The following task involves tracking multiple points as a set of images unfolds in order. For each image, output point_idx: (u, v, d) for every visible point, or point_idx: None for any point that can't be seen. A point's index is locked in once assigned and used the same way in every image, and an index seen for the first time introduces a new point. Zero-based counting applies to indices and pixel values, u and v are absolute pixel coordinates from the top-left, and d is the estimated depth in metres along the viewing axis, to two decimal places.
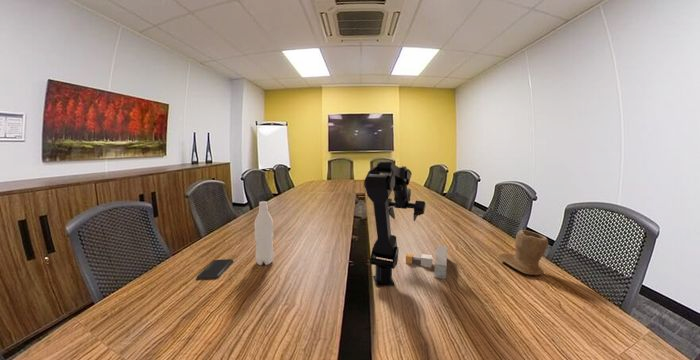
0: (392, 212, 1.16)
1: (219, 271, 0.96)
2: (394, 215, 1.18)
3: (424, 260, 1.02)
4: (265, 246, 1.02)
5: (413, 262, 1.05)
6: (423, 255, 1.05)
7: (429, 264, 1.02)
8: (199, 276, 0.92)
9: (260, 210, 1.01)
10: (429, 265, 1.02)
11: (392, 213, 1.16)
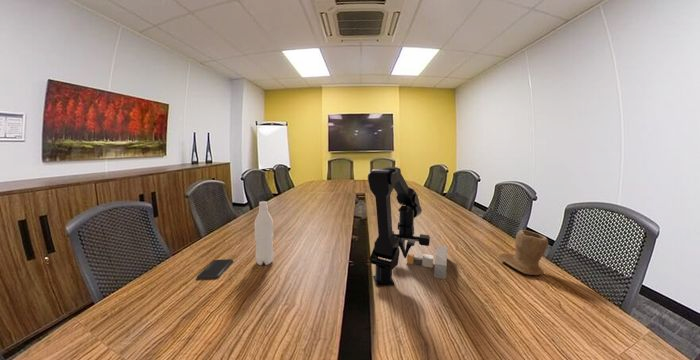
0: (404, 248, 1.06)
1: (219, 271, 0.96)
2: None
3: (426, 260, 1.02)
4: (265, 246, 1.02)
5: (414, 262, 1.05)
6: (424, 255, 1.05)
7: (430, 264, 1.02)
8: (199, 276, 0.92)
9: (260, 210, 1.01)
10: (430, 265, 1.02)
11: (404, 249, 1.06)
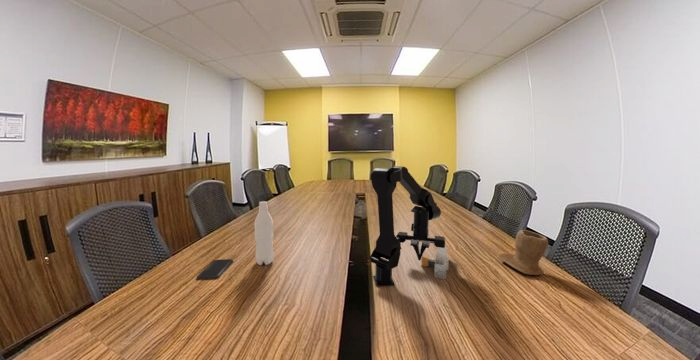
0: (418, 250, 1.04)
1: (219, 271, 0.96)
2: None
3: None
4: (265, 246, 1.02)
5: (429, 264, 1.03)
6: None
7: None
8: (199, 276, 0.92)
9: (260, 210, 1.01)
10: None
11: (418, 251, 1.04)
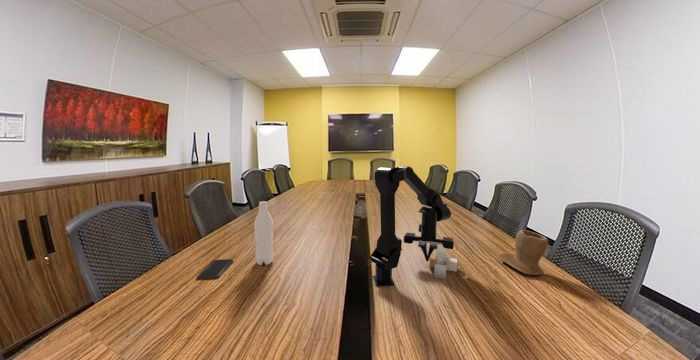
0: (426, 251, 1.03)
1: (219, 271, 0.96)
2: None
3: (450, 263, 0.99)
4: (265, 246, 1.02)
5: None
6: (447, 258, 1.01)
7: (454, 268, 0.98)
8: (199, 276, 0.92)
9: (260, 210, 1.01)
10: (454, 269, 0.98)
11: (426, 252, 1.03)
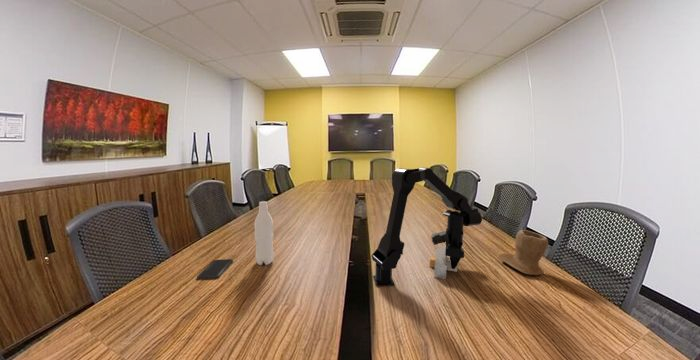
0: None
1: (219, 271, 0.96)
2: None
3: (450, 263, 0.99)
4: (265, 246, 1.02)
5: None
6: (448, 258, 1.01)
7: (455, 268, 0.98)
8: (199, 276, 0.92)
9: (260, 210, 1.01)
10: (455, 269, 0.98)
11: None
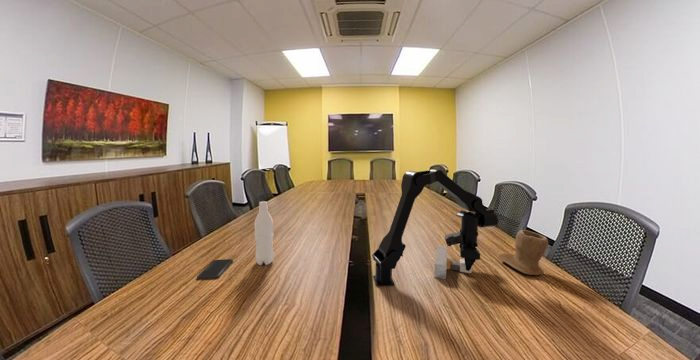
0: None
1: (219, 271, 0.96)
2: None
3: (464, 265, 0.97)
4: (265, 246, 1.02)
5: (451, 267, 1.00)
6: (462, 260, 1.00)
7: (469, 270, 0.97)
8: (199, 276, 0.92)
9: (260, 210, 1.01)
10: (469, 271, 0.97)
11: None
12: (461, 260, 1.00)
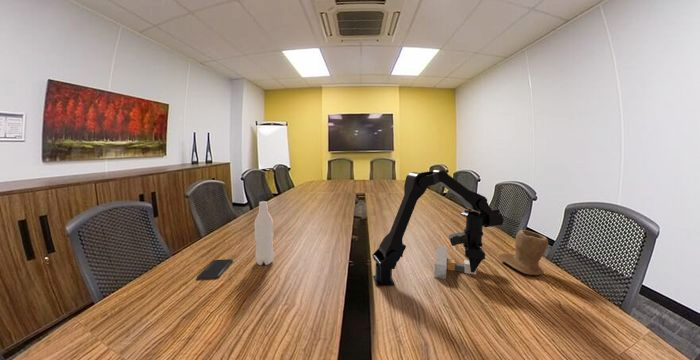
0: None
1: (219, 271, 0.96)
2: None
3: (469, 266, 0.97)
4: (265, 246, 1.02)
5: (455, 268, 0.99)
6: (466, 261, 0.99)
7: None
8: (199, 276, 0.92)
9: (260, 210, 1.01)
10: (474, 272, 0.96)
11: None
12: (465, 261, 0.99)
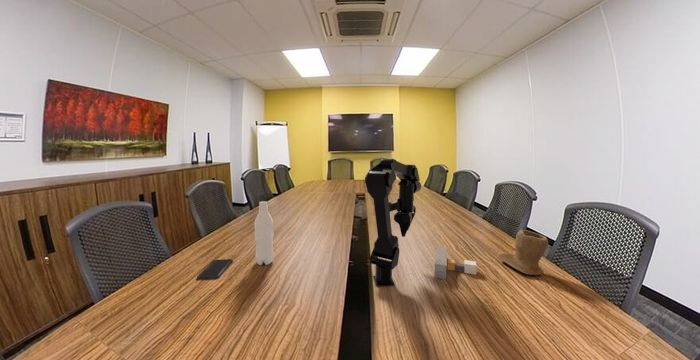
0: None
1: (219, 271, 0.96)
2: None
3: (469, 266, 0.97)
4: (265, 246, 1.02)
5: (455, 268, 0.99)
6: (466, 261, 0.99)
7: (474, 271, 0.96)
8: (199, 276, 0.92)
9: (260, 210, 1.01)
10: (474, 272, 0.96)
11: None
12: (465, 261, 0.99)
